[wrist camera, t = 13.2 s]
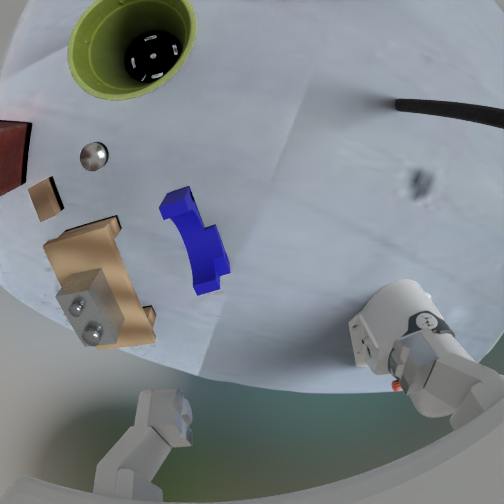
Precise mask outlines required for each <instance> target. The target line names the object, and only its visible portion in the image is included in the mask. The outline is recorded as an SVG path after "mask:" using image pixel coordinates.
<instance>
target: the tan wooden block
mask: <svg viewBox="0 0 504 504" xmlns="http://www.w3.org/2000/svg"><path fill="white" fill-rule="evenodd" d="M28 191H29V194H30V197H31V199H32V202H33V205H34V207H35V210H36V212H37V215H38V217H39V219H40V222H42V221H44V220H46V219H48V218H51V217H53V216H55V215H56V214H58V213H59V212H60V211H62V210H63V209H64V205H63V203H62V200H61V198H60V195H59V192H58V190H57V187H56V184H55V181H54V178H53V176H51V177H49V178H47V179H45V180H43V181H42V182H40V183H38V184H36V185H34V186H33V187H31V188H29V189H28Z"/></svg>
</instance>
